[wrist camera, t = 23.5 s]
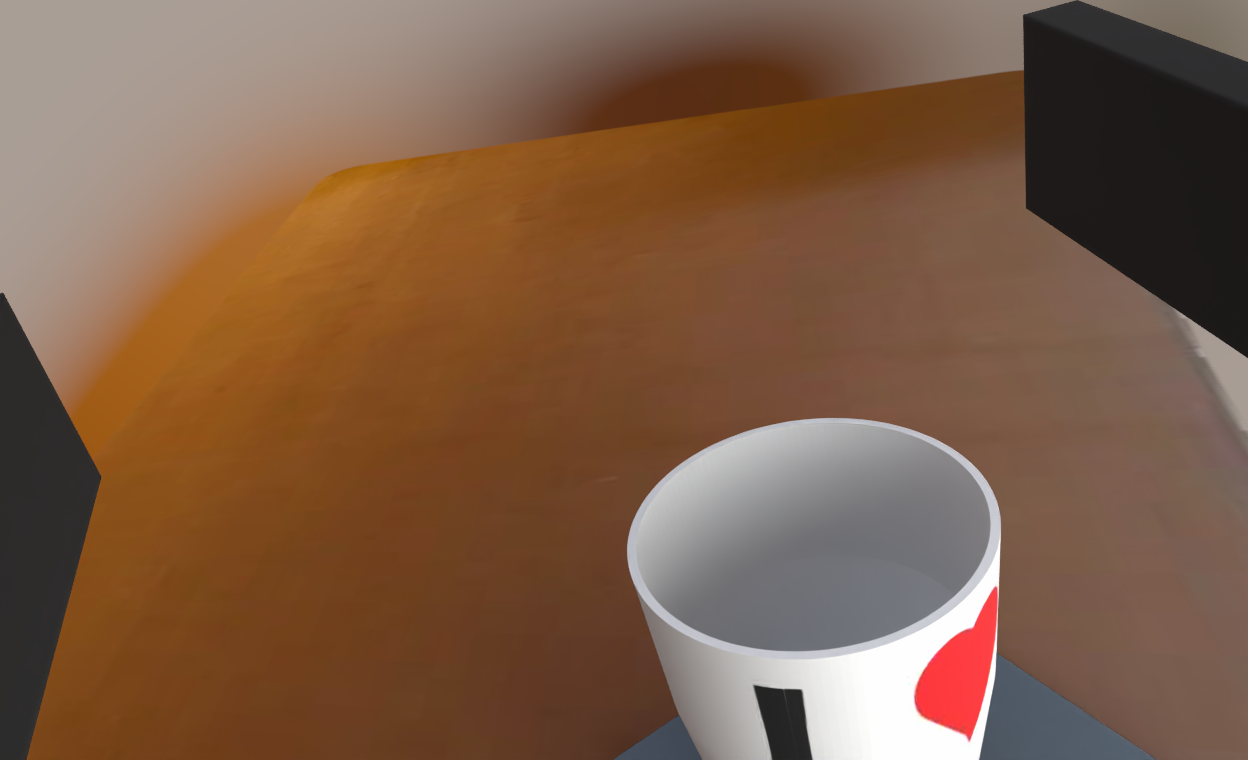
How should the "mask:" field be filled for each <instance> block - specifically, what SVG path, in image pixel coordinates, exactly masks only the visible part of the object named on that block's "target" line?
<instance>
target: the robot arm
mask: <svg viewBox="0 0 1248 760" xmlns="http://www.w3.org/2000/svg"><path fill="white" fill-rule="evenodd" d="M1023 29H1024V97H1025V165H1026V208H1027V209H1028V210H1030V211H1031V212H1033V213H1034V214H1036V215H1037V216H1038V217H1040V218H1041V219H1043V220H1044V221H1046V222H1047V223H1049V224H1050V225H1052V226H1053V227H1055V228H1056V229H1058V230H1059V231H1061V232H1062V233H1064V234H1065V235H1067V236H1068V237H1070V238H1071V239H1073V240H1074V241H1075V242H1077V243H1078V244H1080V245H1081V246H1083V247H1084V248H1086V249H1087V250H1089V251H1090V252H1092V253H1093V254H1095V255H1096V256H1098V257H1099V258H1101V259H1102V260H1104V261H1105V262H1107V263H1108V264H1110V265H1111V266H1112V267H1114V268H1115V269H1117V270H1118V271H1120V272H1121V273H1123V274H1124V275H1126V276H1127V277H1129V278H1130V279H1132V280H1133V281H1135V282H1136V283H1138V284H1139V285H1141V286H1142V287H1144V288H1145V289H1146V290H1148V291H1149V292H1151V293H1152V294H1154V295H1155V296H1157V297H1158V298H1160V299H1161V300H1163V301H1164V302H1166V303H1167V304H1169V305H1170V306H1172V307H1173V308H1175V309H1176V310H1178V311H1179V312H1181V313H1182V314H1183V315H1185V316H1186V317H1188V318H1189V319H1191V320H1192V321H1194V322H1195V323H1197V324H1198V325H1200V326H1201V327H1203V328H1204V329H1206V330H1207V331H1209V332H1210V333H1212V334H1213V335H1215V336H1216V337H1218V338H1219V339H1221V340H1222V341H1224V342H1225V343H1226V344H1228V345H1229V346H1231V347H1232V348H1234V349H1235V350H1237V351H1238V352H1240V353H1241V354H1243V355H1244V356H1246V357H1247V358H1248V62H1246V61H1243V60H1241V59H1238V58H1235V57H1233V56H1230V55H1227V54H1224V53H1222V52H1219V51H1216V50H1213V49H1210V48H1208V47H1205V46H1202V45H1199V44H1197V43H1194V42H1191V41H1189V40H1185V39H1183V38H1180V37H1177V36H1175V35H1172V34H1169V33H1166V32H1164V31H1161V30H1158V29H1155V28H1153V27H1150V26H1147V25H1144V24H1142V23H1138V22H1136V21H1133V20H1131V19H1128V18H1125V17H1122V16H1120V15H1117V14H1114V13H1111V12H1109V11H1106V10H1103V9H1100V8H1097V7H1095V6H1092V5H1089V4H1086V3H1084V2H1081V1H1078V0H1077V1H1073V2H1069V3H1065V4H1062V5H1058V6H1054V7H1050V8H1047V9H1043V10H1040V11H1036V12H1032V13H1028V14H1025V15H1023ZM100 480H101V475H100V473H99V472H98V470H97V468H96V466H95V464H94V462H93V460H92V458H91V457H90V455H89V453H88V451H87V449H86V447H85V445H84V444H83V442H82V440H81V438H80V436H79V434H78V432H77V430H76V428H75V427H74V425H73V423H72V421H71V419H70V417H69V415H68V414H67V412H66V410H65V408H64V406H63V404H62V402H61V400H60V399H59V397H58V395H57V393H56V391H55V389H54V387H53V385H52V383H51V382H50V380H49V378H48V376H47V374H46V372H45V370H44V368H43V367H42V365H41V363H40V361H39V359H38V357H37V355H36V353H35V352H34V350H33V348H32V346H31V344H30V342H29V340H28V338H27V337H26V335H25V333H24V331H23V329H22V327H21V325H20V323H19V322H18V320H17V318H16V316H15V314H14V312H13V311H12V308H11V307H10V305H9V303H8V301H7V299H6V297H5V295H4V293H1V294H0V760H26V758H27V754H28V751H29V747H30V743H31V739H32V736H33V732H34V728H35V724H36V721H37V717H38V713H39V709H40V706H41V702H42V698H43V694H44V691H45V687H46V683H47V679H48V676H49V672H50V668H51V664H52V661H53V657H54V653H55V649H56V645H57V642H58V638H59V634H60V630H61V627H62V623H63V619H64V615H65V612H66V608H67V604H68V600H69V597H70V593H71V589H72V585H73V582H74V578H75V574H76V570H77V567H78V563H79V559H80V555H81V552H82V548H83V544H84V540H85V537H86V533H87V529H88V525H89V521H90V518H91V514H92V510H93V506H94V503H95V499H96V495H97V491H98V488H99V484H100Z"/></svg>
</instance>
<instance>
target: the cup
mask: <svg viewBox="0 0 1248 760" xmlns="http://www.w3.org/2000/svg"><path fill="white" fill-rule="evenodd" d="M1000 535H1001V520H1000V512H999V508H998V504H997V501H996V498H995V496H994V493H993V491H992V489H991V488H990V486H989V484H988V483H987V481H986V480H985V478H984V477H983V476H982V474H981V473H980V472H979V471H978V470H977V469H976V468H975V467H974V466H973V465H972V464H971V463H970V462H969V461H968V460H967V459H966V458H964V457H963V456H962V455H961V454H959V453H958V452H956V451H955V450H953V449H952V448H950V447H949V446H947V445H945V444H943V443H941V442H940V441H938V440H936V439H933V438H931V437H929V436H927V435H924V434H922V433H919V432H916V431H913V430H910V429H907V428H904V427H900V426H896V425H892V424H887V423H882V422H876V421H869V420H860V419H846V418H822V419H807V420H798V421H790V422H784V423H779V424H774V425H769V426H765V427H761V428H757V429H754V430H750V431H747V432H744V433H741V434H738V435H735V436H733V437H730V438H728V439H725V440H723V441H720V442H718V443H716V444H714V445H712V446H710V447H708V448H706V449H704V450H702V451H700V452H699V453H697V454H695V455H694V456H692V457H690V458H689V459H687V460H686V461H684V462H683V463H681V464H680V465H679V466H677V467H676V468H675V469H673V470H672V471H671V472H670V473H669V474H668V475H666V476H665V477H664V478H663V479H662V480H661V481H660V482H659V483H658V484H657V485H656V486H655V487H654V489H653V490H652V491H651V492H650V493H649V495H648V496H647V497H646V499H645V500H644V502H643V503H642V505H641V506H640V508H639V510H638V512H637V514H636V516H635V518H634V521H633V523H632V526H631V529H630V533H629V538H628V546H627V557H628V565H629V570H630V573H631V577H632V580H633V583H634V586H635V588H636V591H637V594H638V597H639V600H640V603H641V606H642V609H643V612H644V615H645V618H646V621H647V624H648V627H649V630H650V633H651V635H652V638H653V641H654V644H655V647H656V650H657V653H658V656H659V659H660V662H661V665H662V668H663V671H664V674H665V677H666V679H667V682H668V685H669V688H670V691H671V694H672V697H673V700H674V703H675V706H676V708H677V711H678V713H679V715H680V717H681V719H682V721H683V723H684V725H685V727H686V729H687V731H688V733H689V735H690V737H691V739H692V741H693V743H694V745H695V746H696V748H697V750H698V752H699V754H700V756H701V758H702V760H979V757H980V752H981V747H982V742H983V737H984V731H985V726H986V721H987V716H988V711H989V706H990V700H991V695H992V690H993V685H994V680H995V671H996V647H997V619H998V591H999V563H1000Z"/></svg>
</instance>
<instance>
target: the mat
mask: <svg viewBox="0 0 1248 760" xmlns="http://www.w3.org/2000/svg"><path fill="white" fill-rule="evenodd" d="M613 760H702V758H701V756H700V754H699V752H698V750H697V748H696V746H695V745H694V743H693V741H692V739H691V737H690V735H689V733H688V731H687V729H686V727H685V725H684V723H683V721H682V719H681V717H680V715H678V716H677V717H675V718H674V719H672V720H671V721H669V722H668V723H666V724H665V725H663V726H662V727H661V728H659V729H658V730H656V731H655V732H653V733H652V734H650V735H649V736H647V737H646V738H644V739H643V740H641V741H640V742H638V743H637V744H635V745H634V746H632V747H631V748H629V749H628V750H626V751H625V752H623V753H622V754H621V755H619V756H618V757H616V758H615V759H613ZM979 760H1156V759H1154V758H1153V757H1151V756H1150V755H1148V754H1147V753H1145V752H1144V751H1142V750H1141V749H1139V748H1138V747H1136V746H1135V745H1133V744H1132V743H1130V742H1129V741H1127V740H1126V739H1124V738H1123V737H1122V736H1120V735H1119V734H1117V733H1116V732H1114V731H1113V730H1111V729H1110V728H1108V727H1107V726H1105V725H1104V724H1102V723H1101V722H1099V721H1098V720H1096V719H1095V718H1093V717H1092V716H1090V715H1089V714H1087V713H1086V712H1084V711H1083V710H1081V709H1080V708H1078V707H1077V706H1075V705H1074V704H1072V703H1071V702H1069V701H1068V700H1066V699H1065V698H1063V697H1062V696H1060V695H1059V694H1057V693H1056V692H1054V691H1053V690H1051V689H1050V688H1048V687H1047V686H1045V685H1044V684H1042V683H1041V682H1039V681H1038V680H1036V679H1035V678H1033V677H1032V676H1030V675H1029V674H1027V673H1026V672H1024V671H1023V670H1021V669H1020V668H1018V667H1017V666H1015V665H1014V664H1012V663H1011V662H1009V661H1008V660H1006V659H1005V658H1003V657H1002V656H1000V655H999V654H997V653H996V671H995V680H994V685H993V690H992V695H991V700H990V706H989V711H988V716H987V721H986V726H985V731H984V737H983V742H982V747H981V752H980V757H979Z"/></svg>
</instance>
